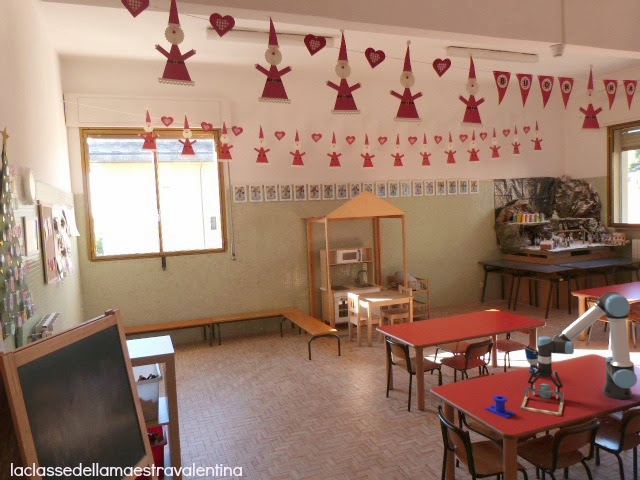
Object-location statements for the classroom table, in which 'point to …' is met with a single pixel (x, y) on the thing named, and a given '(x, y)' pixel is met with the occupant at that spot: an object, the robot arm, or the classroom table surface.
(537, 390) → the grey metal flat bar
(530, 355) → the figurine
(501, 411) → the mount
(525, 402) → the shelf frame
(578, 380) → the classroom table surface
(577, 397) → the classroom table surface
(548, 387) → the grooved blue cylinder
